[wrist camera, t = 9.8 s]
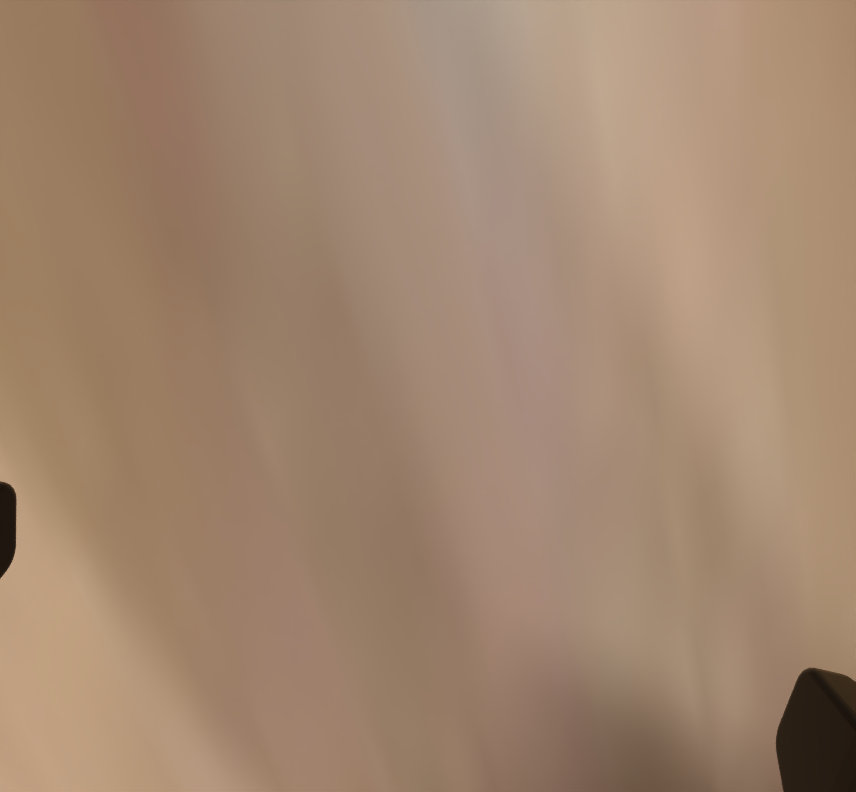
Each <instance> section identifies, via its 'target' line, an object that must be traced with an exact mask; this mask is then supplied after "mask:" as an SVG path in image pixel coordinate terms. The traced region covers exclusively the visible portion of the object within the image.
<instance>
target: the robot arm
mask: <svg viewBox="0 0 856 792" xmlns="http://www.w3.org/2000/svg"><path fill="white" fill-rule="evenodd" d="M15 548H16V493H15V491H14V489H13V488H12V486H11V485H10V484H8V483H5V482H1V481H0V578H1V577H2V576H3V575H4V573H5V572H6V571H7V569H8V568H9V566H10V564H11V562H12V560H13V557H14V554H15ZM776 751H777V758H778V763H779V769H780V775H781V780H782V786H783V791H784V792H856V682H855V681H854V680H852V679H851V678H849V677H848V676H845V675H843V674H839V673H835V672H830V671H826V670H822V669H817V668H808V669H806V670H804V671H803V672H802V673H801V674H800V675H799V677H798V679H797V681H796V684H795V686H794V689H793V691H792V694H791V696H790V699H789V701H788V704H787V706H786V709H785V711H784V714H783V717H782V719H781V722H780V724H779V727H778V731H777V736H776Z"/></svg>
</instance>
